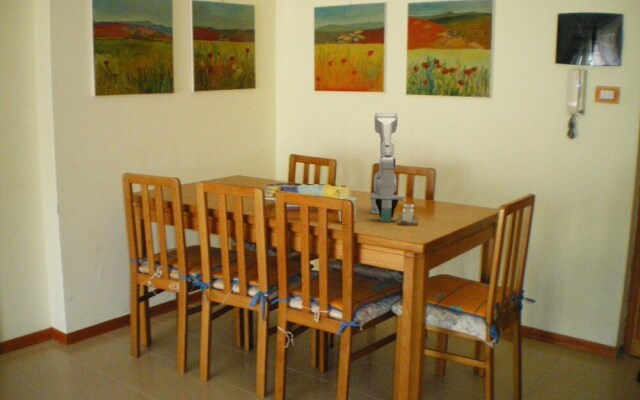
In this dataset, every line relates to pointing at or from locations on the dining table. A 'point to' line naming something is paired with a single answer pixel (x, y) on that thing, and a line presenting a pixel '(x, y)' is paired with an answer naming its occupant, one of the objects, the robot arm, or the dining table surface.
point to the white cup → (353, 203)
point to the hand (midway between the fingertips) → (386, 217)
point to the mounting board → (412, 223)
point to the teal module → (386, 214)
